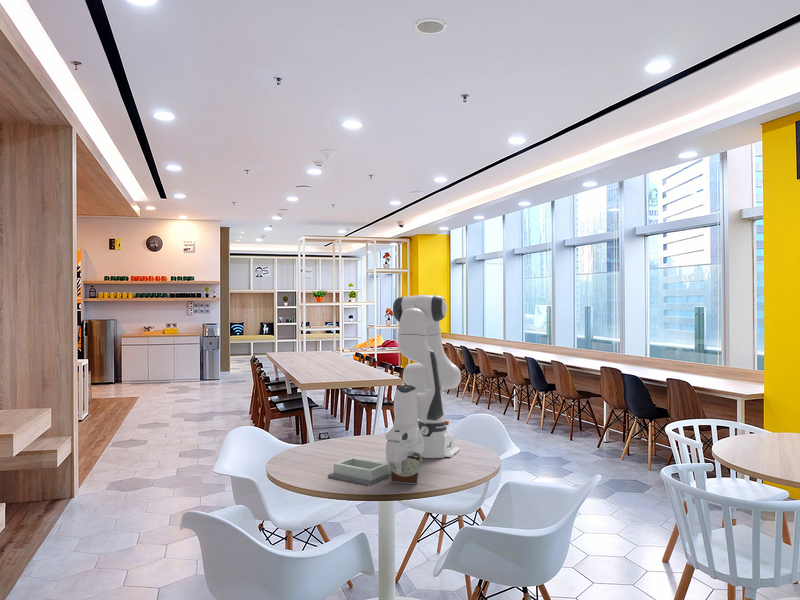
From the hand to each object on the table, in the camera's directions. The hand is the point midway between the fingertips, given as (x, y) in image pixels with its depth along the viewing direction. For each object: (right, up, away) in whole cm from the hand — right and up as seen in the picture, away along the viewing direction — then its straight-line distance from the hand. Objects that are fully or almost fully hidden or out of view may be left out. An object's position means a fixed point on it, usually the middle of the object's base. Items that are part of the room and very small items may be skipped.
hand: (405, 470), depth 193 cm
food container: (0, -4, 0) cm, 4 cm away
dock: (-16, -4, +6) cm, 18 cm away
